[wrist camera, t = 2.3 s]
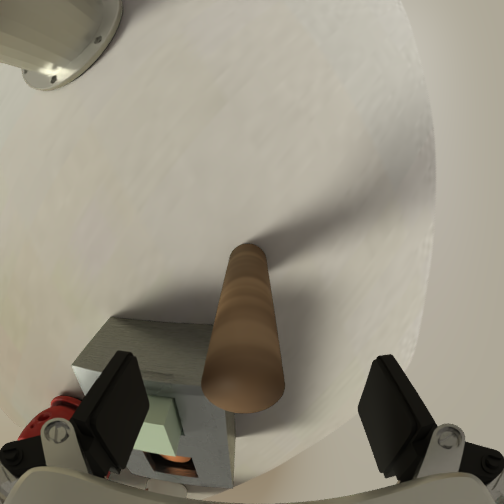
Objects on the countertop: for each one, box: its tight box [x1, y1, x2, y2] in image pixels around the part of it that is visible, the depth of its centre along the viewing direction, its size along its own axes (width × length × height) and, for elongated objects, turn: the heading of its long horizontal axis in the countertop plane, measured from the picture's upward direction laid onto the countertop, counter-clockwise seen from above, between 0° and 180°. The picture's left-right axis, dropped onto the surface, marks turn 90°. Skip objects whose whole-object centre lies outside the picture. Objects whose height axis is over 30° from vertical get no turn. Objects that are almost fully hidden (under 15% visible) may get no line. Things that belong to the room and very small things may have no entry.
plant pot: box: [18, 396, 110, 478], centre depth 24 cm, size 13×13×12 cm
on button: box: [133, 394, 182, 457], centre depth 18 cm, size 4×4×5 cm
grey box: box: [71, 317, 236, 488], centre depth 23 cm, size 18×12×8 cm, turn 179°
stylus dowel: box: [201, 244, 285, 413], centre depth 16 cm, size 3×3×14 cm
